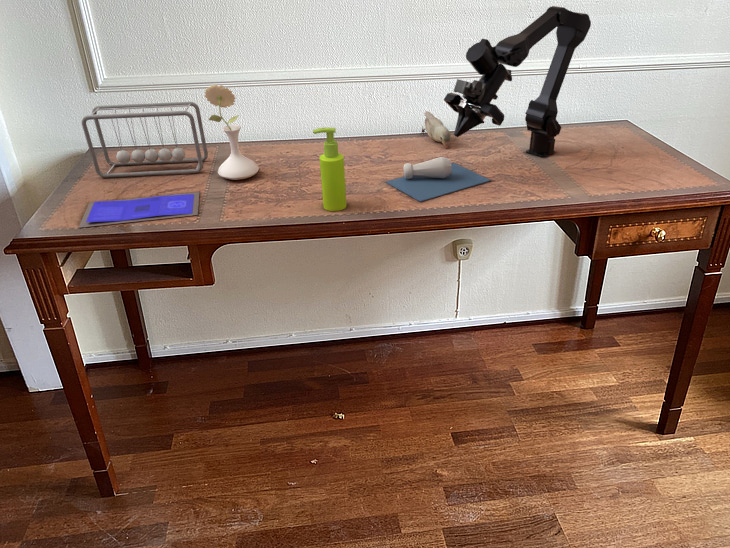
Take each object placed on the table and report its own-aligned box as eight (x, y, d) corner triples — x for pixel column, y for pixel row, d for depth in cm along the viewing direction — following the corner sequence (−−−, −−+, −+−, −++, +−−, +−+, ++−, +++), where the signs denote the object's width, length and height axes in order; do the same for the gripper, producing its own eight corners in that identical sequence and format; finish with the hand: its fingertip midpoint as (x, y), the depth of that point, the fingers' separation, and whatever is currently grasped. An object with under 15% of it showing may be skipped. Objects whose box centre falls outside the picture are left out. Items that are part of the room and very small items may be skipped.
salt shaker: (451, 160, 162) (403, 165, 162) (452, 180, 165) (405, 185, 165) (448, 152, 166) (401, 158, 167) (449, 172, 170) (403, 177, 170)
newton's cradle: (97, 178, 172) (78, 116, 162) (107, 165, 181) (90, 105, 171) (204, 173, 174) (192, 111, 164) (209, 160, 183) (198, 100, 173)
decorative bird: (439, 150, 187) (440, 125, 182) (418, 134, 199) (418, 111, 195) (455, 147, 188) (456, 123, 184) (433, 132, 201) (433, 109, 196)
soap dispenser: (319, 202, 156) (312, 125, 145) (346, 200, 156) (341, 124, 145) (319, 212, 151) (312, 133, 140) (346, 210, 151) (342, 131, 140)
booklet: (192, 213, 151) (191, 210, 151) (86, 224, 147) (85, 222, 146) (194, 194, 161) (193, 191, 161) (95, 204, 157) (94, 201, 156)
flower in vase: (267, 171, 174) (255, 82, 160) (243, 186, 165) (229, 92, 152) (230, 165, 179) (215, 78, 165) (205, 179, 170) (188, 88, 156)
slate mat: (454, 163, 177) (454, 162, 176) (490, 181, 165) (490, 180, 165) (385, 182, 166) (385, 181, 166) (420, 202, 155) (420, 201, 154)
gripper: (449, 61, 159) (416, 111, 160) (498, 72, 146) (462, 127, 147) (471, 86, 167) (440, 134, 168) (519, 98, 154) (485, 150, 155)
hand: (455, 136), depth 159 cm, fingers closed
